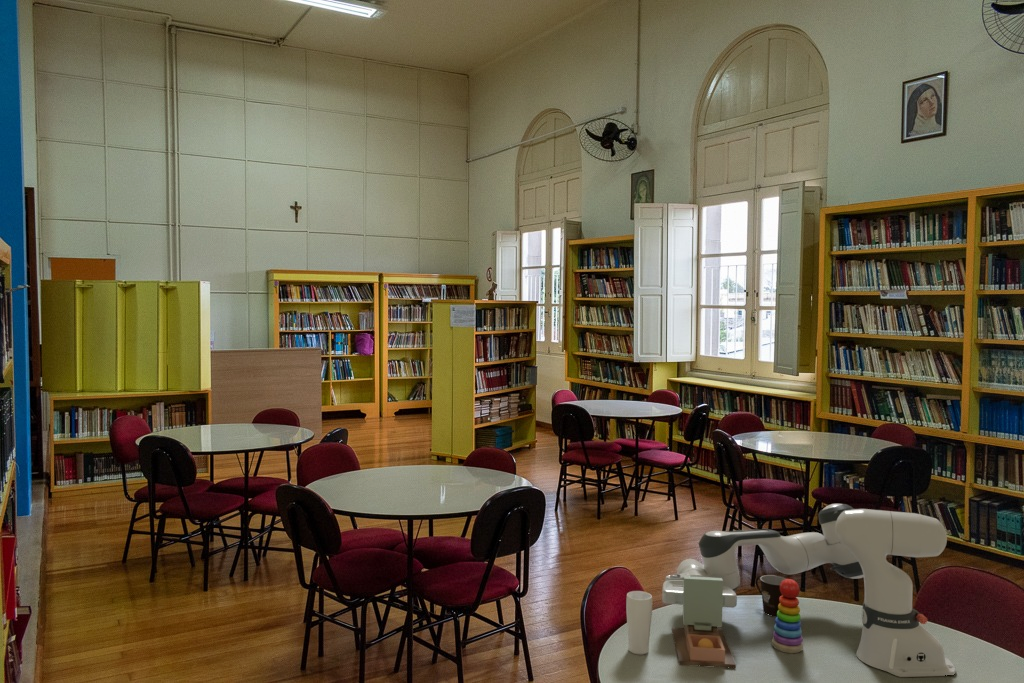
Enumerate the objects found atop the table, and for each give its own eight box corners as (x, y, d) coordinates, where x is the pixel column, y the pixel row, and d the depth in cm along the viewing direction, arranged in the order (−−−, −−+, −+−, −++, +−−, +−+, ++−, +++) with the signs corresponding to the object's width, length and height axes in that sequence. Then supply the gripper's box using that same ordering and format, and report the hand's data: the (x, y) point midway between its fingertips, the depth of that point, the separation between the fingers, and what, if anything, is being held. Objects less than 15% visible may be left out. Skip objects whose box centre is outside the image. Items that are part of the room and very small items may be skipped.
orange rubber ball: (713, 658, 190) (711, 643, 193) (715, 650, 188) (713, 635, 191) (697, 657, 191) (696, 642, 194) (699, 649, 188) (697, 635, 191)
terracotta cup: (719, 648, 195) (719, 635, 195) (724, 663, 187) (725, 650, 187) (686, 646, 196) (686, 633, 196) (690, 661, 188) (690, 647, 188)
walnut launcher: (722, 633, 207) (722, 612, 207) (735, 668, 186) (736, 644, 186) (671, 630, 209) (672, 609, 209) (679, 664, 188) (679, 640, 188)
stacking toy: (766, 647, 198) (768, 579, 198) (779, 638, 204) (780, 571, 204) (795, 657, 193) (797, 586, 193) (807, 647, 199) (809, 578, 198)
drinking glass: (651, 658, 192) (652, 601, 191) (625, 655, 193) (625, 598, 193) (651, 646, 198) (652, 591, 198) (626, 644, 200) (627, 589, 199)
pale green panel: (720, 628, 198) (721, 578, 198) (722, 631, 196) (722, 580, 196) (682, 625, 199) (683, 576, 199) (683, 628, 197) (684, 578, 197)
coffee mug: (794, 618, 218) (794, 585, 218) (765, 618, 218) (765, 584, 218) (780, 603, 230) (781, 572, 230) (752, 603, 230) (753, 571, 230)
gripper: (732, 600, 211) (741, 620, 197) (660, 596, 213) (663, 615, 200) (733, 579, 211) (742, 596, 197) (660, 575, 213) (664, 592, 200)
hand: (702, 606), depth 198 cm, fingers closed, pressing on pale green panel
